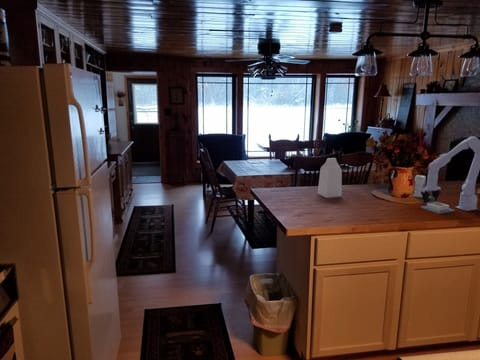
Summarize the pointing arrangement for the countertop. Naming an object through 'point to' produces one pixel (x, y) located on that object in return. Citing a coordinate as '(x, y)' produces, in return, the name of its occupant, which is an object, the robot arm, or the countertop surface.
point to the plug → (430, 199)
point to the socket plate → (438, 208)
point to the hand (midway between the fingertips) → (429, 202)
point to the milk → (330, 179)
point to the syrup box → (419, 185)
